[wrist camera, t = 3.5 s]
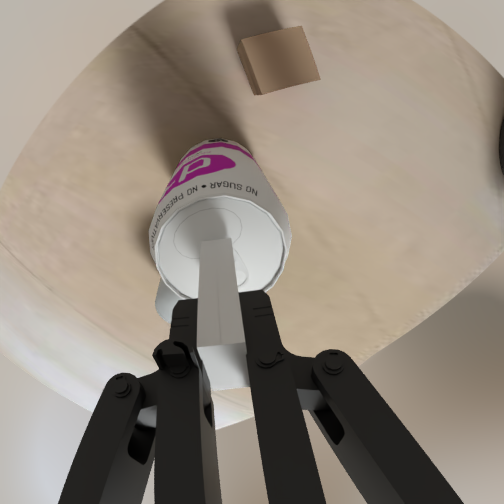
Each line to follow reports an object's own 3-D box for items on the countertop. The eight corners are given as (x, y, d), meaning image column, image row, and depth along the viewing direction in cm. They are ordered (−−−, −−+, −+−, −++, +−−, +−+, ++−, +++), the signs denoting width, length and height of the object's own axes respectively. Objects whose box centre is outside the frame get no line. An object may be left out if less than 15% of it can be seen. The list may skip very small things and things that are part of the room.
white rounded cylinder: (208, 248, 31) (208, 280, 26) (215, 289, 35) (217, 324, 30) (157, 254, 31) (148, 287, 26) (169, 294, 34) (163, 329, 29)
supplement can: (162, 162, 26) (113, 231, 13) (238, 123, 25) (263, 153, 12) (200, 226, 30) (193, 332, 17) (270, 193, 29) (316, 282, 16)
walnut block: (286, 36, 20) (301, 25, 16) (302, 81, 23) (320, 79, 19) (236, 49, 21) (241, 39, 17) (254, 95, 23) (262, 94, 19)
